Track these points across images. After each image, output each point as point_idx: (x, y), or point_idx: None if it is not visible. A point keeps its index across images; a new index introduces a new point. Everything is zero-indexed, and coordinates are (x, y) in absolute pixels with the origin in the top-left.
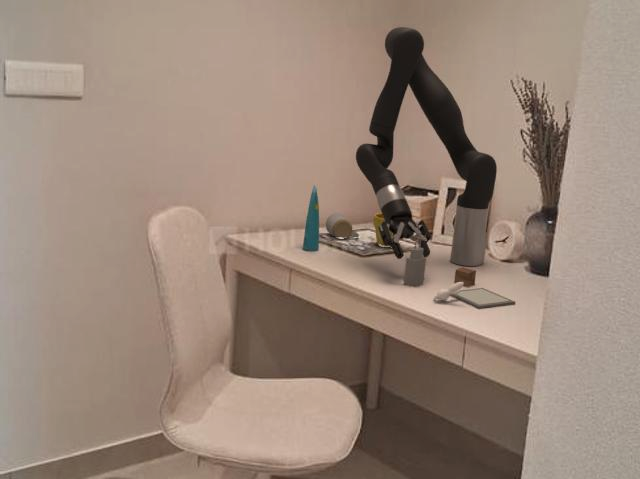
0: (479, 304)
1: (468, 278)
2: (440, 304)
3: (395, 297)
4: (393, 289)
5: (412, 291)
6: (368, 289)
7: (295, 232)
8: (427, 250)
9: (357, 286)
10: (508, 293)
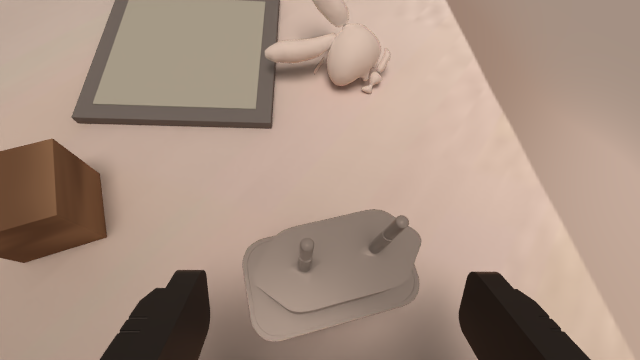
0: (264, 1)
1: (71, 154)
2: None
3: (496, 158)
4: (461, 246)
5: (390, 197)
6: (579, 280)
7: None
8: (186, 285)
9: (623, 341)
10: (19, 66)
